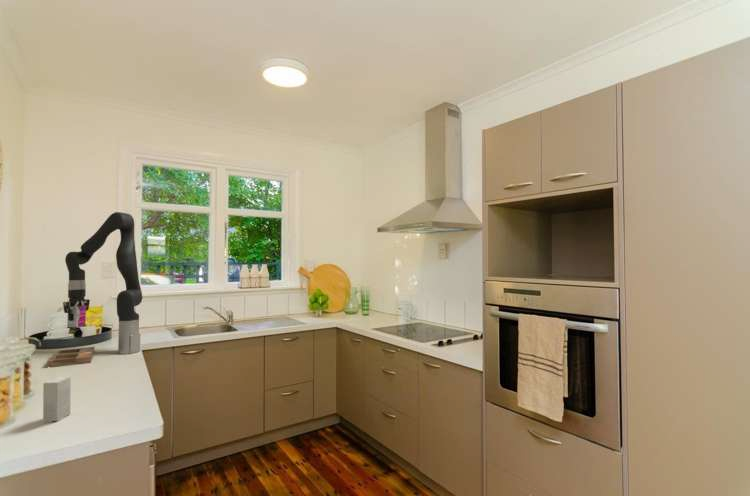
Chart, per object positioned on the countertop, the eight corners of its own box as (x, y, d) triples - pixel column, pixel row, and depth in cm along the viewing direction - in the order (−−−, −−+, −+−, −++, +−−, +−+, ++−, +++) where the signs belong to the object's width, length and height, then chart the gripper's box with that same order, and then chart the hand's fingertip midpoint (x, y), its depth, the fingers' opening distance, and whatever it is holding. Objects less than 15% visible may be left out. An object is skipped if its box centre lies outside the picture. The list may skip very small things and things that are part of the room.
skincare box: (56, 414, 124) (57, 376, 125) (70, 414, 125) (71, 376, 125) (41, 422, 118) (42, 382, 119) (56, 422, 119) (57, 382, 119)
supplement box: (76, 328, 207) (76, 306, 208) (66, 328, 208) (67, 306, 209) (86, 326, 213) (86, 305, 213) (76, 326, 214) (76, 305, 214)
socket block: (55, 356, 200) (56, 349, 200) (94, 352, 209) (94, 346, 209) (47, 367, 179) (47, 360, 179) (90, 362, 188) (90, 355, 188)
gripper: (82, 287, 219) (82, 317, 218) (58, 289, 205) (57, 321, 204) (94, 287, 218) (94, 317, 217) (70, 289, 204) (70, 322, 203)
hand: (76, 319), depth 211 cm, fingers closed on supplement box, 5 cm apart
